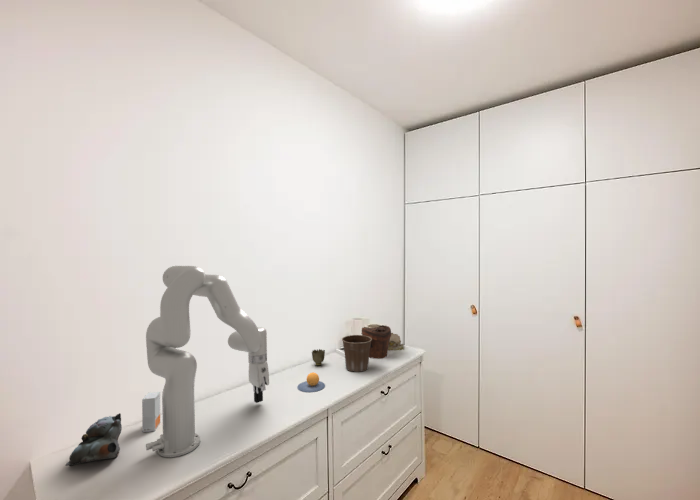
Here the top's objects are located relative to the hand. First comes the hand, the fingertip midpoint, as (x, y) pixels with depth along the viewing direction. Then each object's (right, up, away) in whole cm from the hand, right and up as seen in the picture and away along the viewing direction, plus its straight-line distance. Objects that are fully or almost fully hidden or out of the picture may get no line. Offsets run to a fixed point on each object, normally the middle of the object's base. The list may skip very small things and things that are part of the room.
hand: (258, 401), depth 140 cm
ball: (+21, +2, +19) cm, 28 cm away
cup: (+21, -1, +47) cm, 52 cm away
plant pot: (+42, -1, +41) cm, 59 cm away
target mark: (+20, -1, +18) cm, 27 cm away
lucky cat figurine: (-42, -3, -35) cm, 54 cm away
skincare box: (-35, -2, -17) cm, 39 cm away
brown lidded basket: (+55, -1, +63) cm, 84 cm away
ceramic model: (+66, -1, +78) cm, 102 cm away
